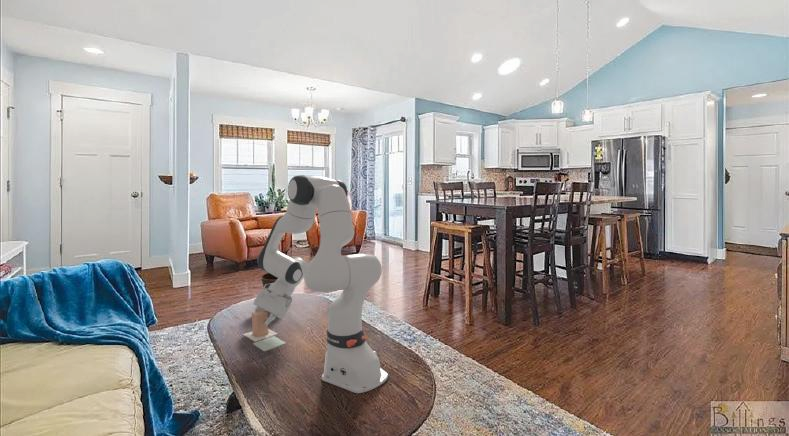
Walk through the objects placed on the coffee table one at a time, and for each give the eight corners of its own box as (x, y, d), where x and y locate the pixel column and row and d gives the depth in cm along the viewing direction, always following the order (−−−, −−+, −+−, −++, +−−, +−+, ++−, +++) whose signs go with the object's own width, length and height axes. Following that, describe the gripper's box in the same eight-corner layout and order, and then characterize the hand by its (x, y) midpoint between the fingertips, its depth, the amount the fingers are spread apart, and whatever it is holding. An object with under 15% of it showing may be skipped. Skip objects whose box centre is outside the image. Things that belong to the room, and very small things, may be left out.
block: (268, 333, 157) (267, 312, 156) (257, 337, 154) (256, 315, 152) (262, 330, 160) (262, 309, 159) (252, 334, 157) (251, 312, 156)
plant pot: (289, 312, 182) (288, 279, 180) (258, 312, 181) (256, 279, 180) (297, 301, 197) (296, 271, 195) (268, 302, 196) (266, 271, 194)
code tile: (277, 334, 157) (277, 333, 157) (254, 342, 150) (254, 341, 150) (265, 327, 164) (265, 327, 164) (242, 334, 157) (242, 334, 156)
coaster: (286, 344, 148) (286, 342, 148) (264, 352, 141) (264, 350, 141) (274, 337, 154) (274, 336, 154) (252, 344, 148) (252, 343, 148)
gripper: (298, 301, 157) (277, 331, 151) (273, 291, 171) (253, 318, 165) (288, 293, 153) (266, 324, 147) (263, 283, 167) (242, 310, 161)
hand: (259, 321), depth 156 cm, fingers open, 8 cm apart
